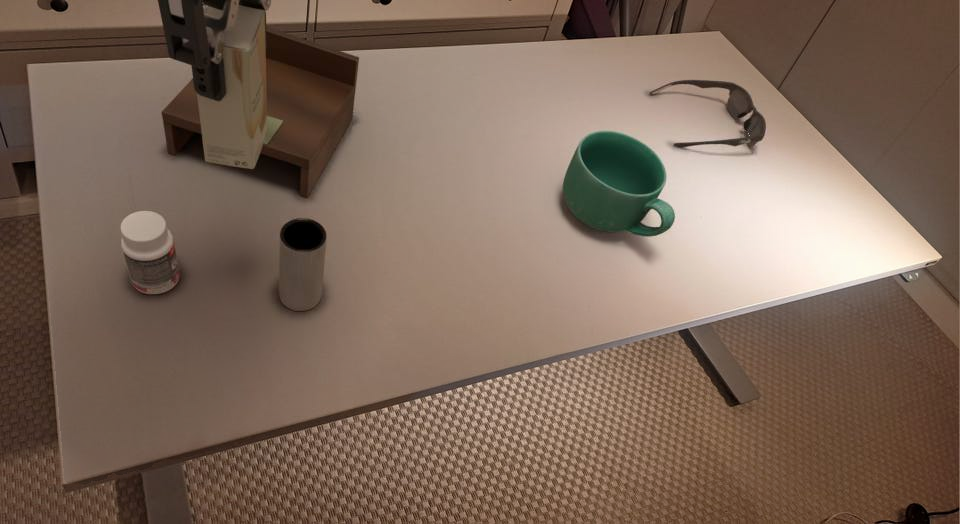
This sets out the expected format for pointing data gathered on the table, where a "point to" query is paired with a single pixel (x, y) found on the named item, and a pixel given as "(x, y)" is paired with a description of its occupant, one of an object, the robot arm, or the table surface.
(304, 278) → the grey cylindrical cup
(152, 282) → the pill bottle
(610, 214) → the mug
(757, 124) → the sunglasses
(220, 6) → the robot arm
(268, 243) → the table surface
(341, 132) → the shelf
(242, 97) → the cosmetic box
